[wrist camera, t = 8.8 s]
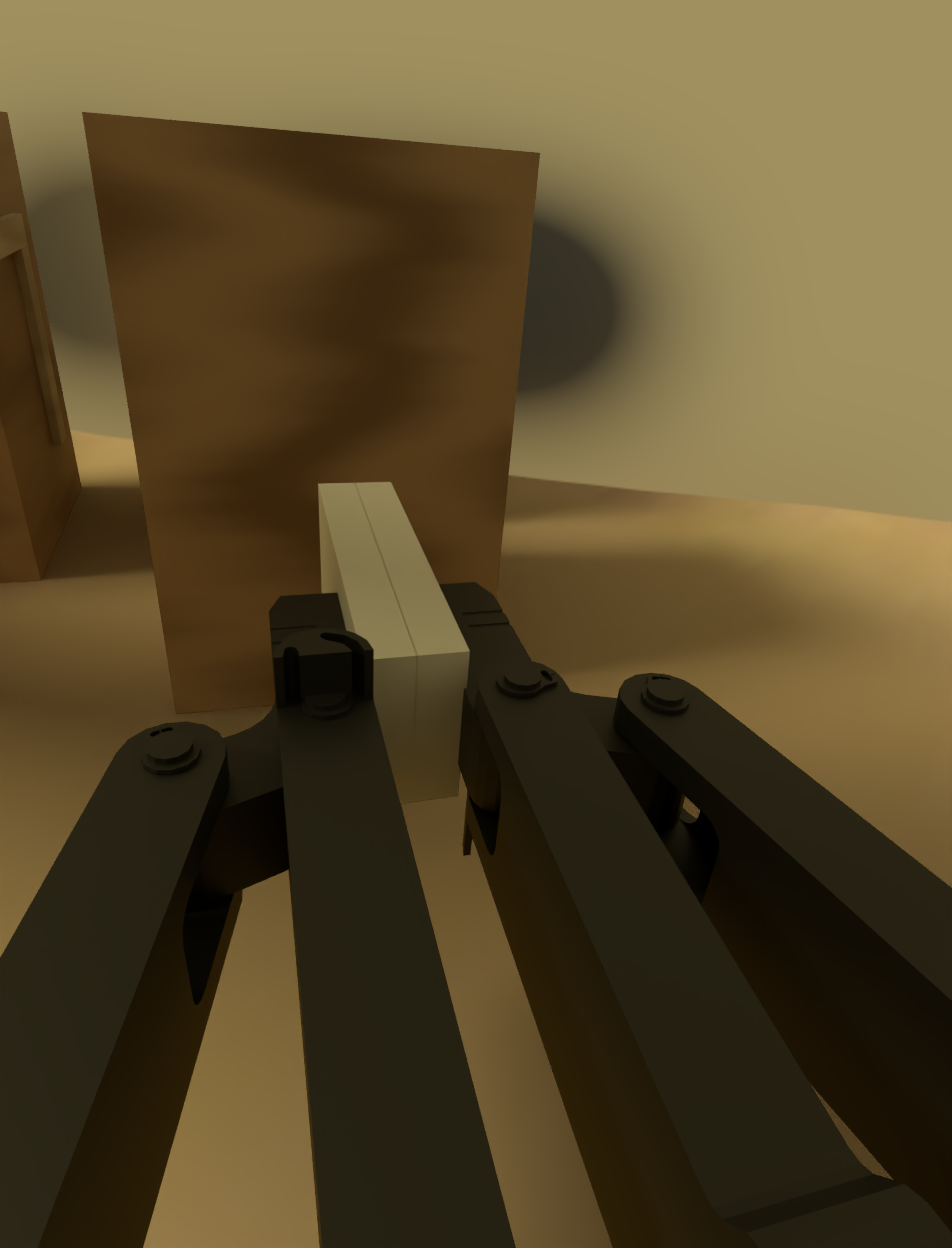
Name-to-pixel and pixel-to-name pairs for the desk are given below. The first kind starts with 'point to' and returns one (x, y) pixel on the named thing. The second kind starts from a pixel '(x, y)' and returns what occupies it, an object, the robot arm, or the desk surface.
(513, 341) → the plain block
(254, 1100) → the desk surface
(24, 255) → the block seven
